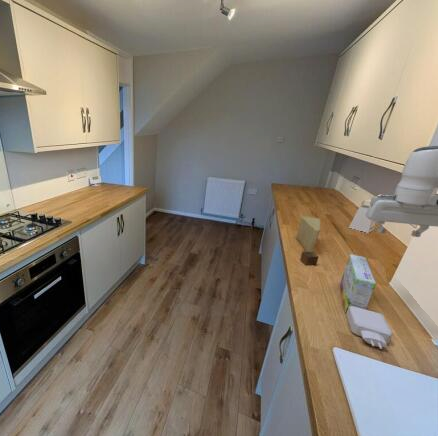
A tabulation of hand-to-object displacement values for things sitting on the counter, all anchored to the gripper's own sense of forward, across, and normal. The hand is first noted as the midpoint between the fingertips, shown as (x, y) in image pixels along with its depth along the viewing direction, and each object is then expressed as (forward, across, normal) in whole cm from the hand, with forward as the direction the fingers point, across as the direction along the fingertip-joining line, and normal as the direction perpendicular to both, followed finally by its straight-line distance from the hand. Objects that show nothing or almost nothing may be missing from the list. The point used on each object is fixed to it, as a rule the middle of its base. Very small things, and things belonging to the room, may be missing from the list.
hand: (397, 234), depth 84 cm
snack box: (+28, -9, -4) cm, 30 cm away
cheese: (+28, -14, +42) cm, 52 cm away
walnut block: (+28, -18, +22) cm, 40 cm away
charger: (+28, -10, -23) cm, 37 cm away
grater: (+29, +27, +87) cm, 95 cm away
